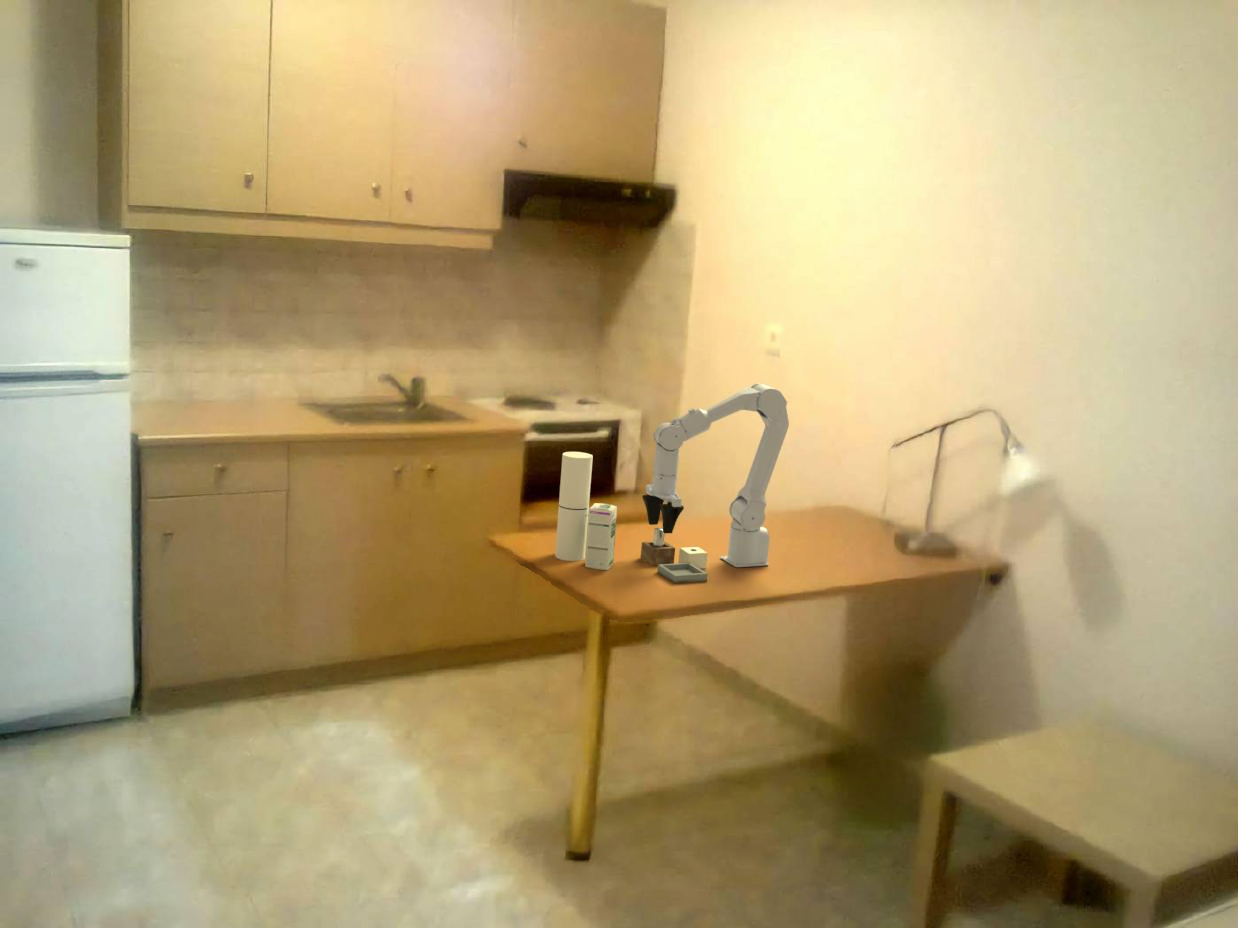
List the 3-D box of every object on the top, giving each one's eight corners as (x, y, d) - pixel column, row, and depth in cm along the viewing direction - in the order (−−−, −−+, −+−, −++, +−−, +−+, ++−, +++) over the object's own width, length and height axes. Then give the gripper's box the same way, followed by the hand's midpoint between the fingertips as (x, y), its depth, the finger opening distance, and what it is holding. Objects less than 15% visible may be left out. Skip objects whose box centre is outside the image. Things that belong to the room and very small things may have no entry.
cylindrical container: (548, 555, 257) (556, 453, 252) (570, 550, 262) (577, 450, 257) (569, 562, 252) (577, 459, 247) (590, 558, 258) (599, 456, 253)
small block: (696, 562, 262) (698, 546, 261) (706, 568, 257) (707, 552, 256) (678, 563, 260) (679, 547, 259) (687, 569, 255) (689, 553, 254)
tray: (689, 569, 255) (689, 562, 254) (706, 581, 247) (707, 573, 247) (657, 571, 251) (658, 564, 251) (674, 583, 244) (675, 575, 243)
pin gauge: (658, 558, 262) (661, 527, 260) (664, 562, 259) (667, 530, 258) (649, 559, 260) (652, 527, 259) (655, 562, 258) (658, 530, 257)
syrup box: (608, 570, 249) (613, 510, 246) (583, 567, 250) (588, 507, 247) (613, 564, 254) (618, 505, 251) (589, 560, 255) (594, 501, 252)
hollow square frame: (662, 556, 264) (663, 540, 263) (673, 563, 259) (675, 547, 258) (640, 557, 261) (641, 542, 260) (651, 565, 256) (653, 549, 255)
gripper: (636, 467, 260) (632, 521, 263) (664, 481, 247) (659, 537, 250) (662, 466, 263) (657, 520, 266) (691, 480, 250) (685, 536, 253)
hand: (660, 528), depth 258 cm, fingers open, 7 cm apart
